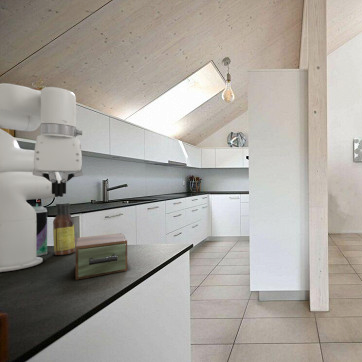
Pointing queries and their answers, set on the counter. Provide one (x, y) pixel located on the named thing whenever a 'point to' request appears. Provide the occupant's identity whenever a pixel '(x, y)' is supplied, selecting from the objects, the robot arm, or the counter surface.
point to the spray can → (41, 229)
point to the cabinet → (100, 241)
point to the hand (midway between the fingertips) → (59, 196)
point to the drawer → (101, 259)
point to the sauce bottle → (63, 230)
